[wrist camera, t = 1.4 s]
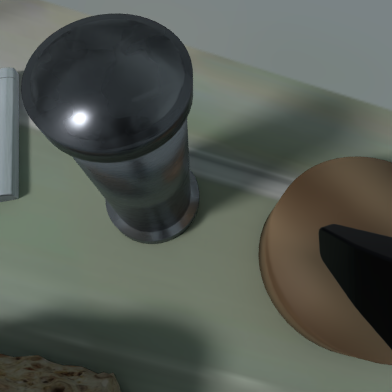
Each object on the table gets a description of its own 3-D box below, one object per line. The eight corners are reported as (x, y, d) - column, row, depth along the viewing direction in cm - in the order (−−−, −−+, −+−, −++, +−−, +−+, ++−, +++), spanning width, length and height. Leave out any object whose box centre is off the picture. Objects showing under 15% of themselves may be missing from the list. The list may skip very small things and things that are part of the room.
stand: (362, 402, 18) (403, 423, 15) (223, 254, 22) (228, 241, 18) (468, 266, 21) (525, 255, 18) (331, 153, 25) (354, 124, 21)
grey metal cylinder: (147, 263, 22) (84, 197, 10) (91, 196, 23) (-22, 69, 11) (217, 202, 23) (239, 79, 11) (159, 144, 25) (125, -16, 13)
